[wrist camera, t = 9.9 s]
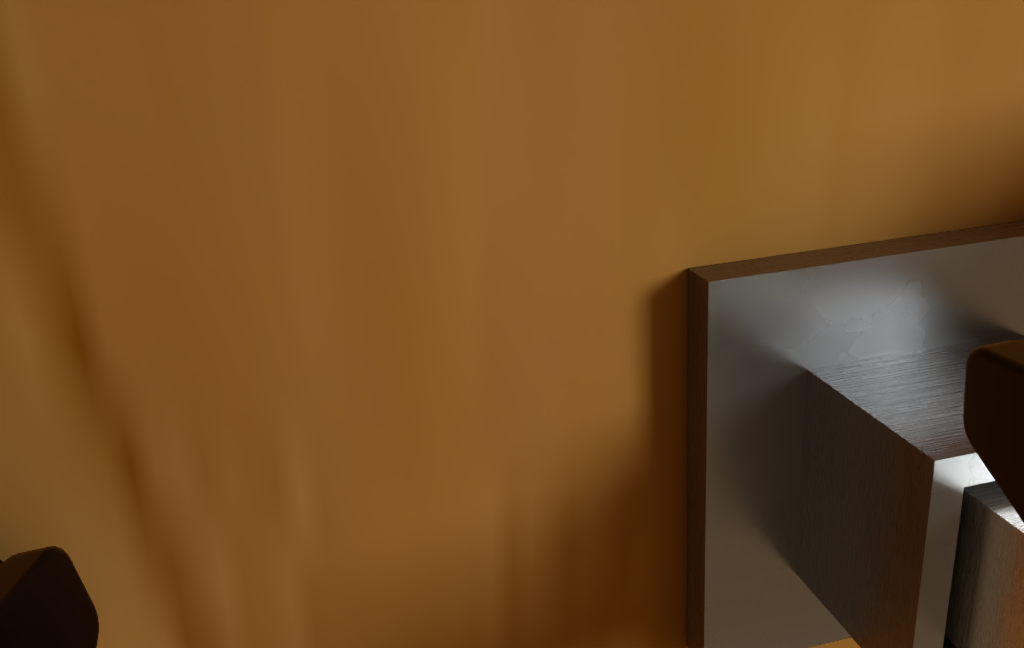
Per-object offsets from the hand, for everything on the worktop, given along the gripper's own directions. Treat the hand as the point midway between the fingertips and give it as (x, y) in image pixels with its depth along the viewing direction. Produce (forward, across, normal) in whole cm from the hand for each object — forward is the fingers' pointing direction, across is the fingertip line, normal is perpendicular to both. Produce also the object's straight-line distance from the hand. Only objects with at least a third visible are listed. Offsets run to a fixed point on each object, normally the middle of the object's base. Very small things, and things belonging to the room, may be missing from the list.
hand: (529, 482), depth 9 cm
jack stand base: (+14, -10, +11) cm, 20 cm away
